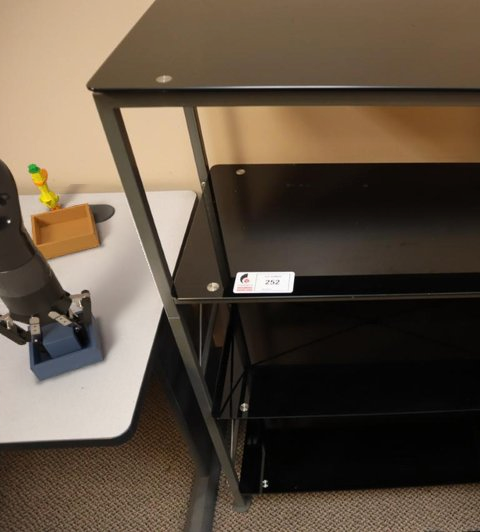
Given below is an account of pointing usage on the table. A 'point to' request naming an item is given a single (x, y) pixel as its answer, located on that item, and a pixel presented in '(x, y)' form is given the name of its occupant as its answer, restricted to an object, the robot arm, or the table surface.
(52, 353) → the blue block
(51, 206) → the toy figure
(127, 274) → the table surface
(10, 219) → the robot arm
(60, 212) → the ochre bin
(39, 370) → the blue bin
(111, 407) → the table surface
